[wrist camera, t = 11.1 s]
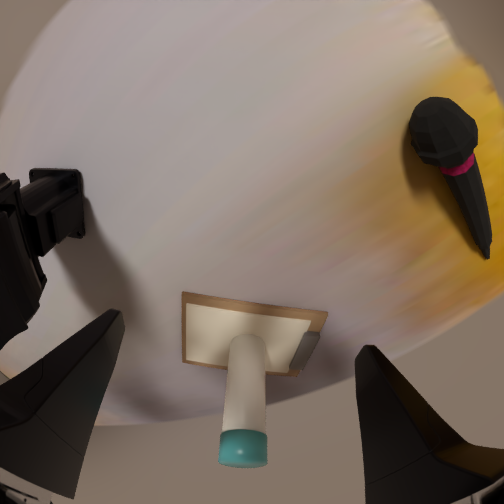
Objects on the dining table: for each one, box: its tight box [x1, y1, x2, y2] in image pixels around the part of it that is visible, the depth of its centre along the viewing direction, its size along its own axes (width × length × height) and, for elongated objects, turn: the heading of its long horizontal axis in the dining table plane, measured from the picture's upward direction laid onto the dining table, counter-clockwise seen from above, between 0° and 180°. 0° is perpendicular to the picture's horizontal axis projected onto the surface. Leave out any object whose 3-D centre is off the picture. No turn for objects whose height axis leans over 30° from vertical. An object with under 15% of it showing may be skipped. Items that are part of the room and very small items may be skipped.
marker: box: [218, 334, 267, 468], centre depth 22 cm, size 4×4×13 cm
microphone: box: [409, 97, 492, 259], centre depth 17 cm, size 6×6×20 cm
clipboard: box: [182, 292, 328, 377], centre depth 28 cm, size 14×11×1 cm
